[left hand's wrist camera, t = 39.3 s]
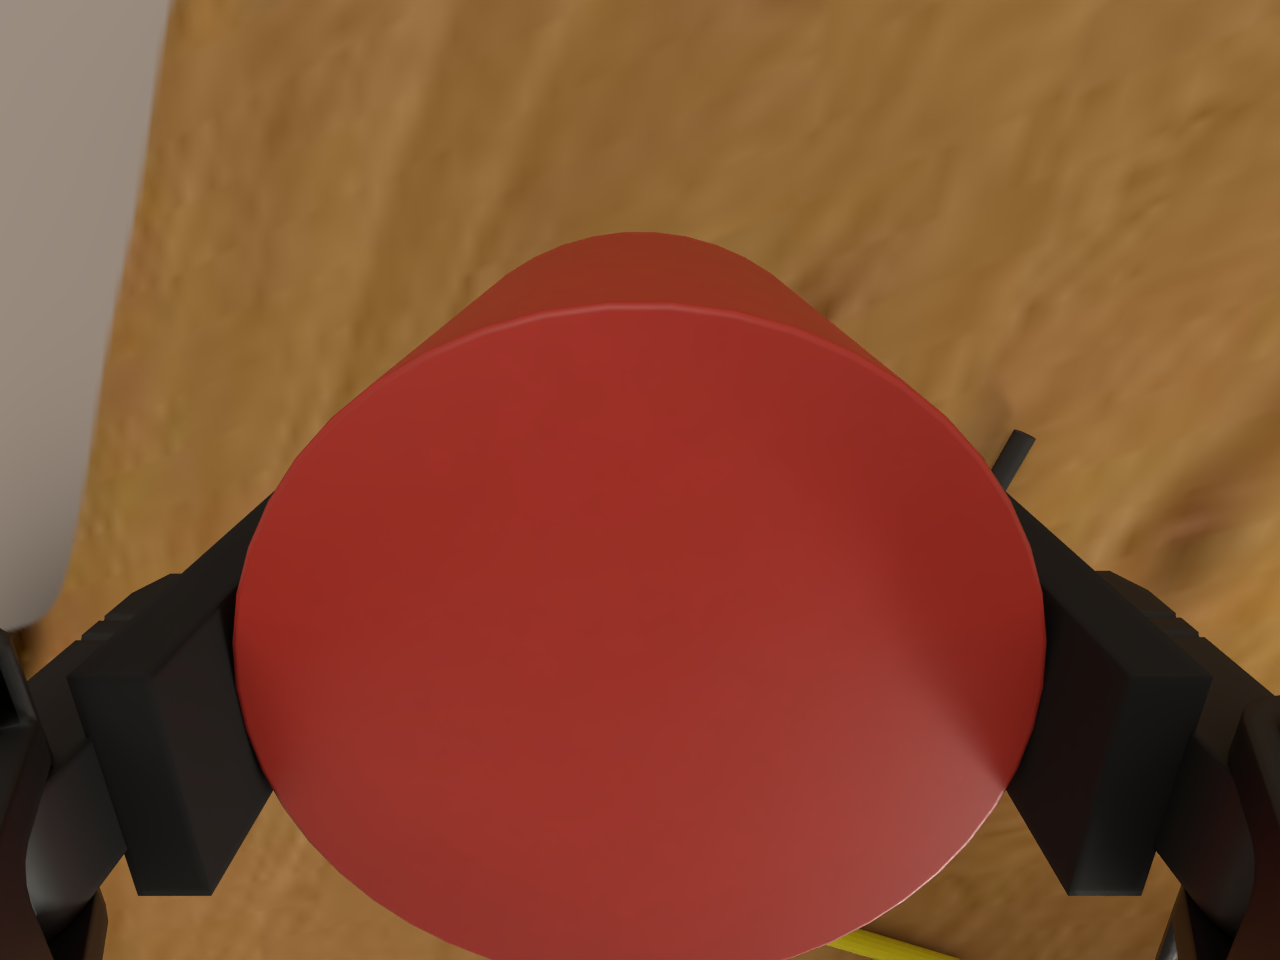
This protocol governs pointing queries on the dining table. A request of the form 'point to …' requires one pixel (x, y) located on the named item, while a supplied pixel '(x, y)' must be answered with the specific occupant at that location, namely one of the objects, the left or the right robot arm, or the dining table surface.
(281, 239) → the dining table surface
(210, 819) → the left robot arm
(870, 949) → the pencil
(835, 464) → the can
